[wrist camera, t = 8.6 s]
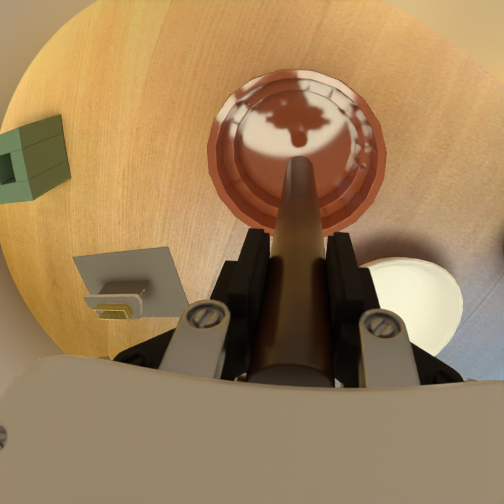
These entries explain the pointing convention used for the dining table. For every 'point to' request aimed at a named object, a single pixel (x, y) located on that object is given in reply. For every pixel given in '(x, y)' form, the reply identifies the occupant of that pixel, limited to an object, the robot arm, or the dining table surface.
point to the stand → (32, 160)
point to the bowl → (419, 299)
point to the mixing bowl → (296, 147)
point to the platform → (132, 284)
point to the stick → (295, 293)
